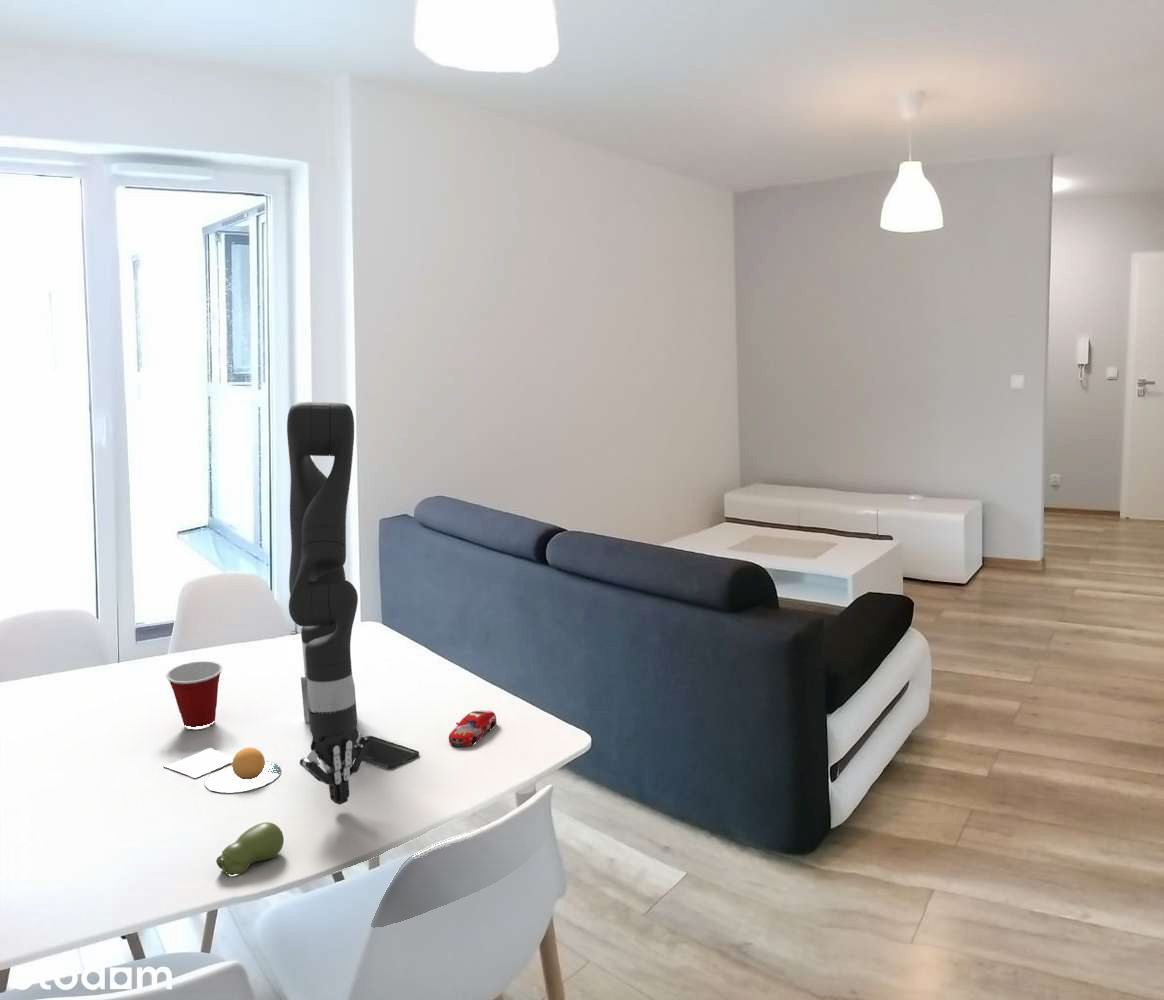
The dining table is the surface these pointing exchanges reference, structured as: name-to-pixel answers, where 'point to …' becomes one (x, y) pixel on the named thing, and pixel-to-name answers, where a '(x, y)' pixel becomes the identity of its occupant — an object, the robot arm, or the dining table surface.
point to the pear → (251, 848)
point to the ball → (248, 763)
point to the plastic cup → (196, 691)
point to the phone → (388, 753)
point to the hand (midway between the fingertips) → (340, 802)
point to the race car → (472, 728)
